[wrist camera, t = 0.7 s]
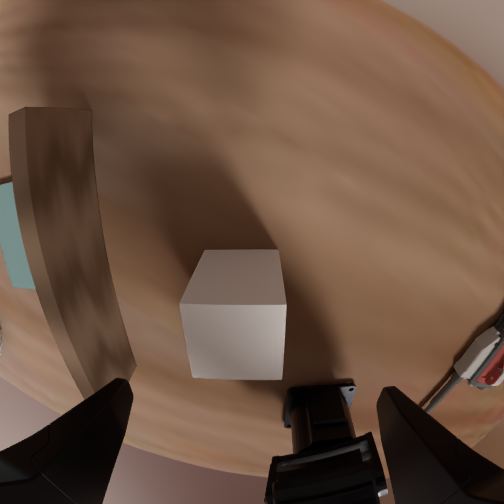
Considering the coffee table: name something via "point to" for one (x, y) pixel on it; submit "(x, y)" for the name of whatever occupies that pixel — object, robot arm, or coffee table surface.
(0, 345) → the vase
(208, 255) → the white rectangular block
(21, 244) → the teal mat
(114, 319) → the walnut screen
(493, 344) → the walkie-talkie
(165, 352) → the coffee table surface
